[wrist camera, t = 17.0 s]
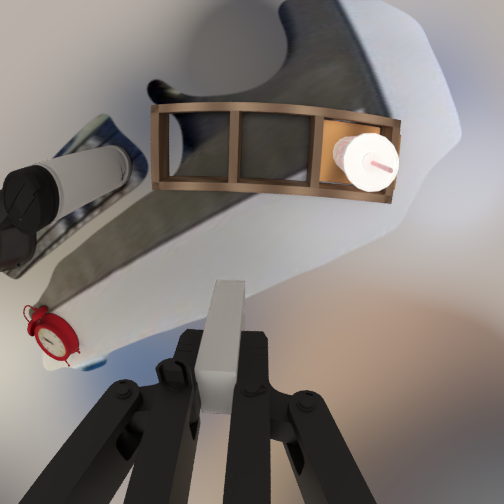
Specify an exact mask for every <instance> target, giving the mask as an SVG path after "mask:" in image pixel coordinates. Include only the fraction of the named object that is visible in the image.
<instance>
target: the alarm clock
mask: <svg viewBox="0 0 504 504" xmlns="http://www.w3.org/2000/svg"><path fill="white" fill-rule="evenodd" d="M27 306H29V307H31V306H30V305H27ZM27 306H25V308H26V307H27ZM25 308H24V311H25ZM31 308H32V309H33V310H35V312H34V313H33V314H32V320H31V321H30V322H29V320H28V319H27V318H26V316H25V315H24V317H25V318H26V320H27V321H28V322H29V323H28V328H27V331H28V334H29V335H30V336H34V335H35V338H36V340H37V343H38V344H39V346H40V347H41V349H42V350H43V351H44V352H45V353H46V354H47V355H49V356H50V357H52V358H53V359H56V360H58V361H64V360H65V362H66V363H67V364H68V362H67V361H66V359H68V357H69V356H70V354H73V353H75V352H78V350H79V349H78V347H79V342H78V338H77V336H76V334H75V332H74V330H73V329H72V328H71V326H70V325H69V324H68V323H67V322H66V321H65V320H63V319H62V318H61V317H59V316H57V315H55V314H51V313H47V314H45V313H46V312H47V311H48V309H47V307H45V306H42V307H40V308H38V309H36V307H35V309H34V308H33V307H31ZM23 314H25V313H24V312H23ZM39 318H41V319H39ZM38 319H39V321H40V322H39V321H38ZM36 321H37V322H38V323H39V324H38V323H37V322H36ZM78 353H80V351H79V352H78ZM68 366H70V365H69V364H68Z"/></svg>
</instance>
